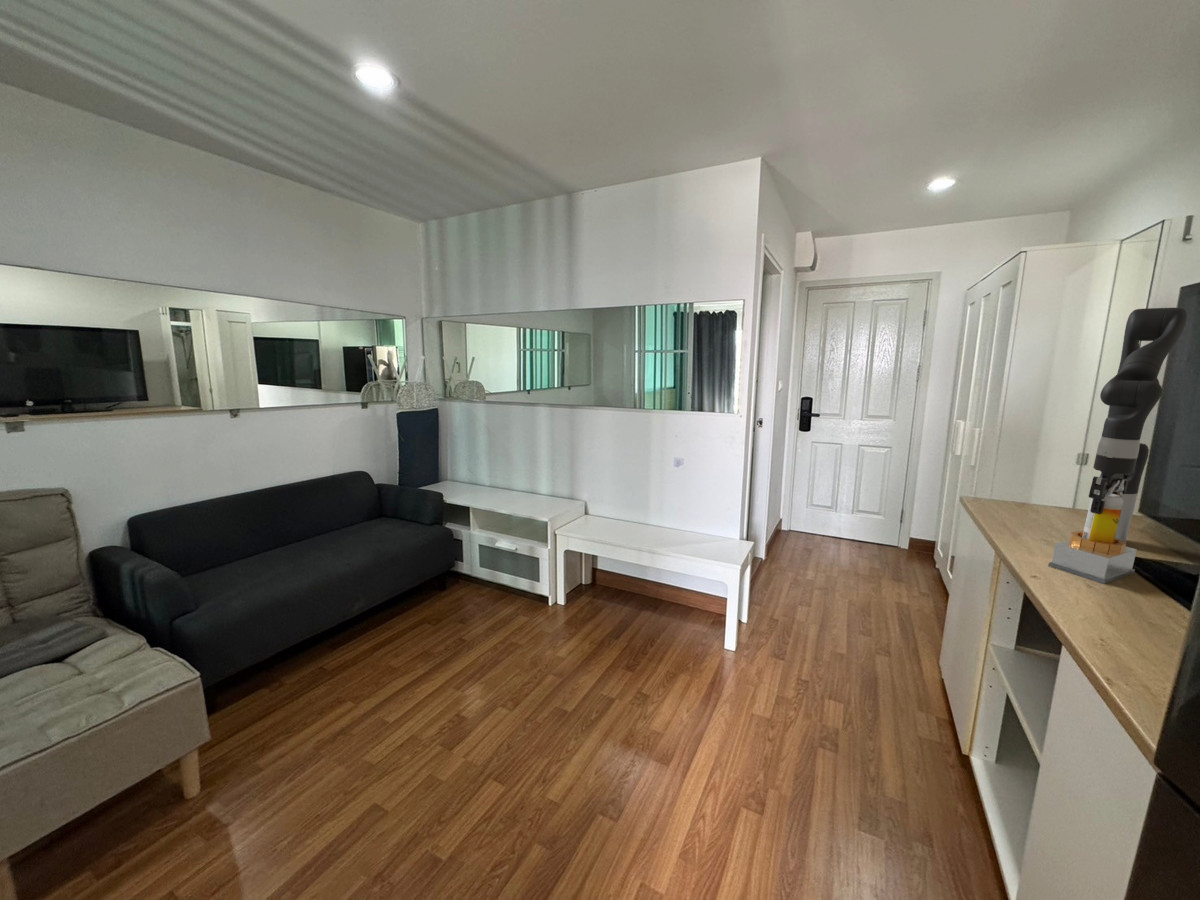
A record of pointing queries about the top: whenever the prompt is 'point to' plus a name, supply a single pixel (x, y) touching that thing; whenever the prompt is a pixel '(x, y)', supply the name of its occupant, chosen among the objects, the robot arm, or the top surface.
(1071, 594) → the top surface
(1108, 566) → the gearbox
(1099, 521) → the beer can
